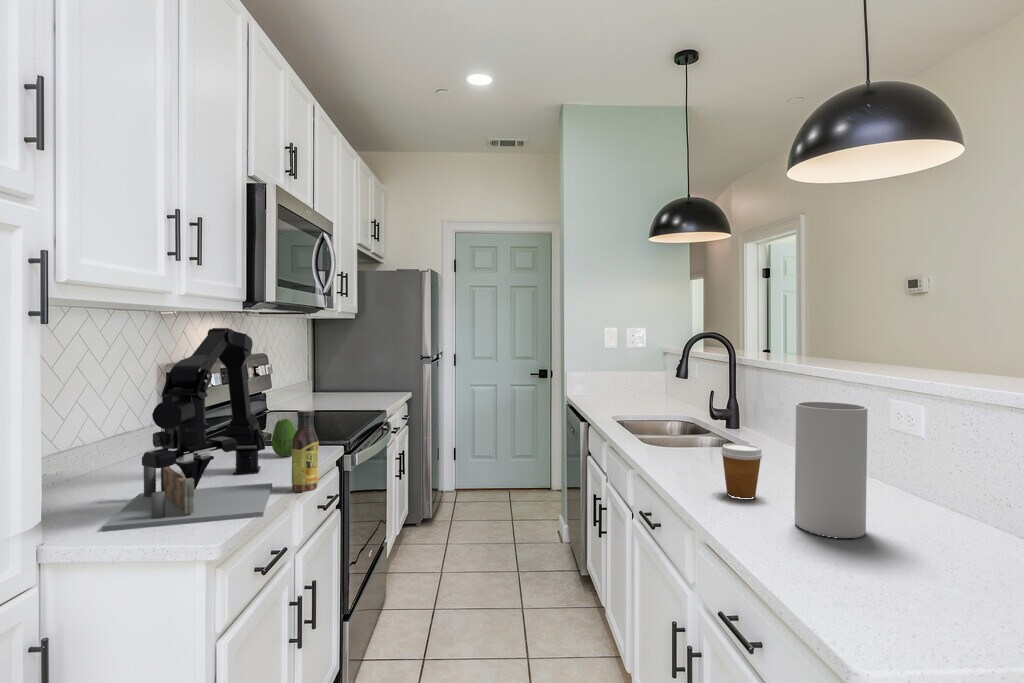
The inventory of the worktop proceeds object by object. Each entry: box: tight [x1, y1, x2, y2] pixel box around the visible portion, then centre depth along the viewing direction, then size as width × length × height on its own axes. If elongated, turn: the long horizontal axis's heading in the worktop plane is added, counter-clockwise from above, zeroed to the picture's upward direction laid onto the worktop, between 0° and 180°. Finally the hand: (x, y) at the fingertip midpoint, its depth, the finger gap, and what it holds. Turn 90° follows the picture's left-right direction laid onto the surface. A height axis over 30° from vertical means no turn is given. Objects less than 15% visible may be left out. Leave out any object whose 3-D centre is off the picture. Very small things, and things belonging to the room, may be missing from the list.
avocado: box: [270, 418, 297, 457], centre depth 177 cm, size 8×8×12 cm
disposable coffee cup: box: [720, 443, 764, 498], centre depth 136 cm, size 10×10×12 cm
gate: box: [160, 466, 194, 514], centre depth 125 cm, size 22×2×7 cm, turn 44°
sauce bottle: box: [291, 409, 320, 493], centre depth 140 cm, size 7×6×20 cm
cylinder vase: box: [794, 401, 868, 539], centre depth 113 cm, size 12×12×25 cm
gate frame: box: [102, 466, 273, 532], centre depth 127 cm, size 24×29×10 cm
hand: (193, 489), depth 126 cm, fingers closed
